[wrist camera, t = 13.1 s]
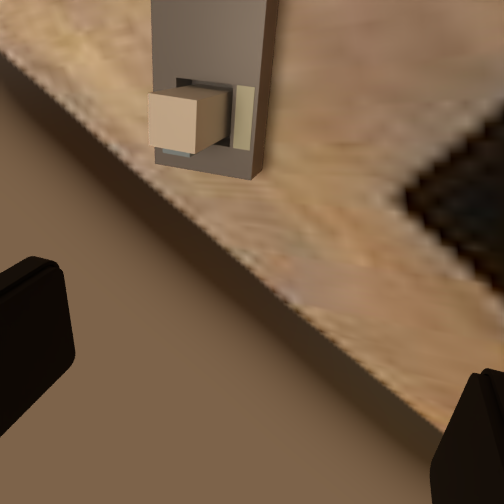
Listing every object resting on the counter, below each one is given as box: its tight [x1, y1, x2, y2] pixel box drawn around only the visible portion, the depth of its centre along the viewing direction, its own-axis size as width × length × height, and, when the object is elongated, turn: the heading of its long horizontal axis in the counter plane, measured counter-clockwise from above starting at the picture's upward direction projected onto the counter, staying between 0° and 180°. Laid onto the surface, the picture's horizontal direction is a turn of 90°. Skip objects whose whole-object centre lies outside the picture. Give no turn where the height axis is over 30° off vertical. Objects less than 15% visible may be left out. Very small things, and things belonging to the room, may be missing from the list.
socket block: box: [151, 0, 279, 180], centre depth 36 cm, size 10×24×4 cm, turn 175°
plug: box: [148, 83, 233, 158], centre depth 36 cm, size 4×5×10 cm
